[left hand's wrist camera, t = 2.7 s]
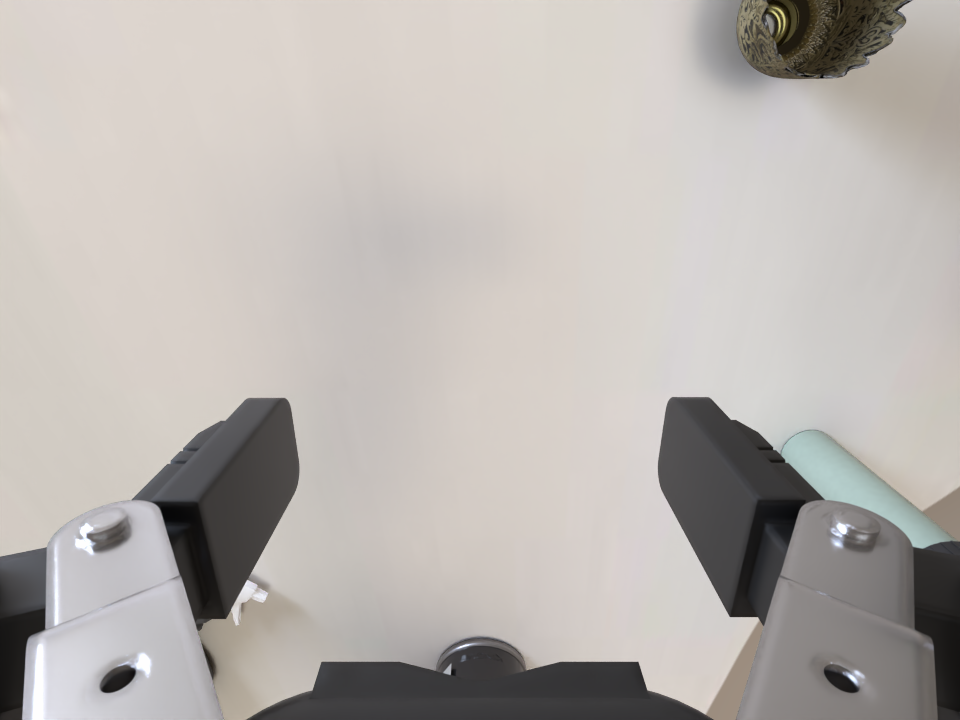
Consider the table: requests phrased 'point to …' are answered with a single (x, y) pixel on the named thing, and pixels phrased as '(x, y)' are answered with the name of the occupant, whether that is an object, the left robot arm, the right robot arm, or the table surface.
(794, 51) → the cup
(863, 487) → the jar
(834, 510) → the left robot arm
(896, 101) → the table surface
